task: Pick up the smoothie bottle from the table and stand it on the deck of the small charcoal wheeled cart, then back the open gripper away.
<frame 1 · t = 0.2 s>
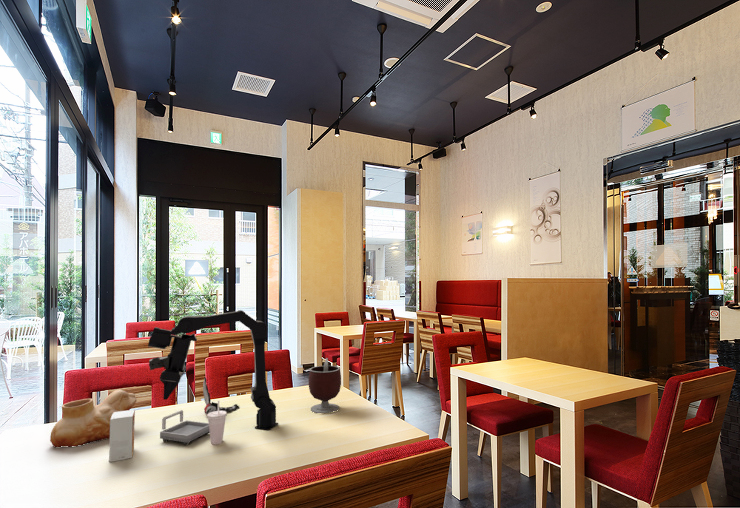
hand: (167, 396, 143), 15 cm above the table, tool pointing down, fingers open, 9 cm apart
smoothie: (216, 442, 140), on the table
cart: (186, 437, 145), on the table
ceramic vessel: (95, 437, 147), on the table
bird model: (220, 412, 173), on the table
mate gourd: (325, 409, 175), on the table
small box: (122, 456, 131), on the table
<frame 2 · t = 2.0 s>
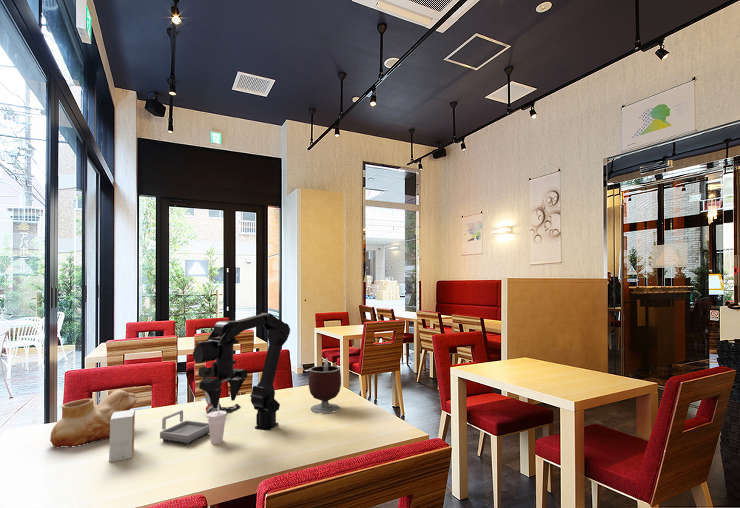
hand: (224, 404, 140), 13 cm above the table, tool pointing down, fingers open, 9 cm apart
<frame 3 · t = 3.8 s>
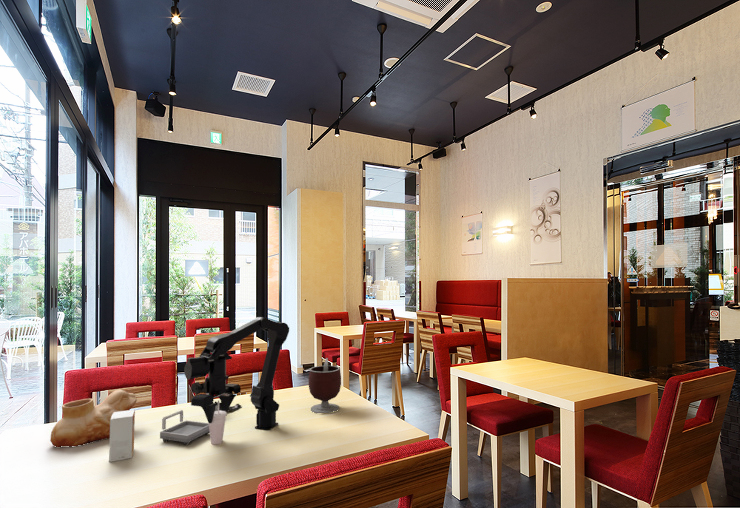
hand: (216, 419, 141), 8 cm above the table, tool pointing down, fingers closed on smoothie, 6 cm apart
smoothie: (216, 442, 140), on the table, touching gripper
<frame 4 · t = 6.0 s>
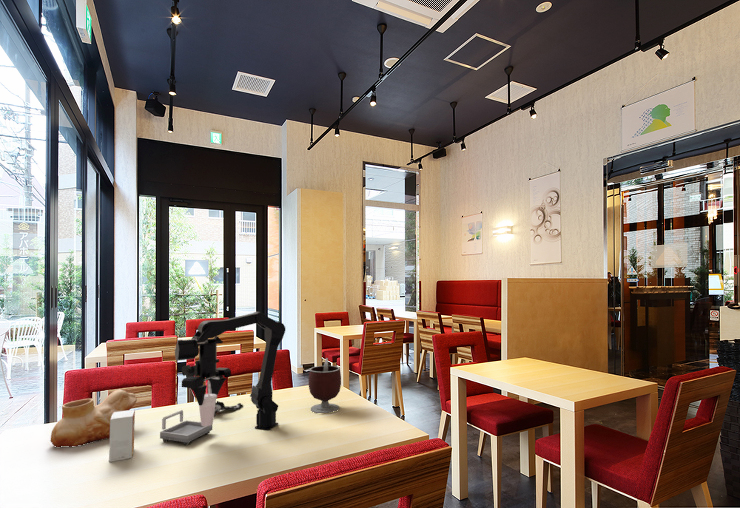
hand: (207, 402, 142), 13 cm above the table, tool pointing down, fingers closed on smoothie, 6 cm apart
smoothie: (207, 425, 142), point 5 cm above the table, touching gripper
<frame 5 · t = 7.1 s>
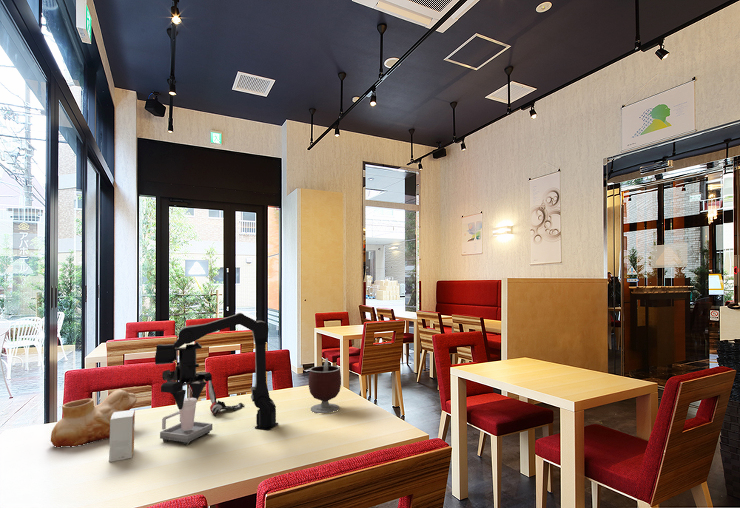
hand: (187, 406, 145), 11 cm above the table, tool pointing down, fingers closed on smoothie, 6 cm apart
smoothie: (187, 428, 145), point 3 cm above the table, touching gripper
when the fingers open (11 cm above the table, at t = 8.0 s): smoothie stays where it is, resting on cart.
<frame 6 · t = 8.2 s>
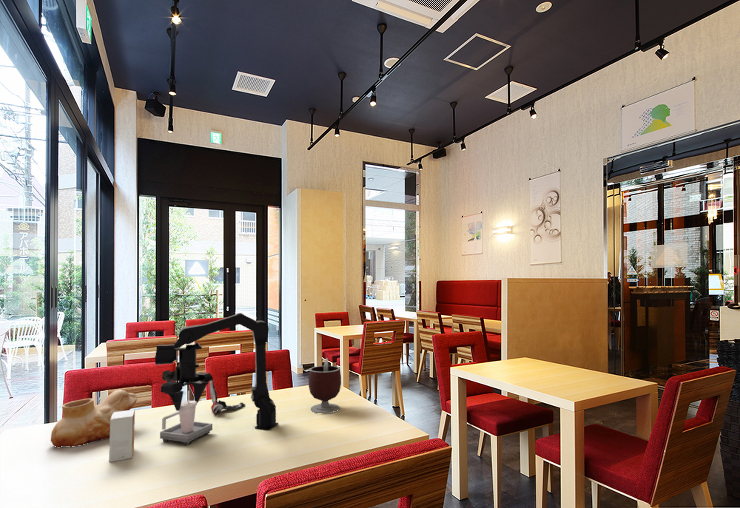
hand: (187, 406, 145), 11 cm above the table, tool pointing down, fingers open, 8 cm apart
smoothie: (187, 431, 145), point 2 cm above the table, touching cart
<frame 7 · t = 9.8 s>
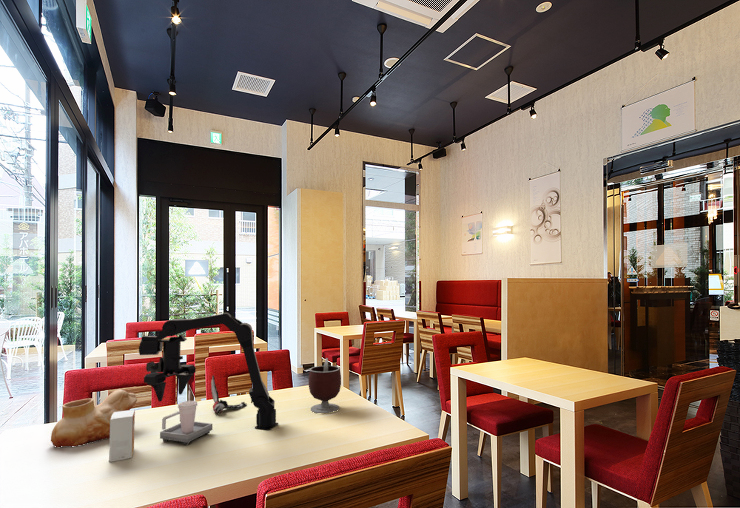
hand: (170, 397, 148), 13 cm above the table, tool pointing down, fingers open, 9 cm apart
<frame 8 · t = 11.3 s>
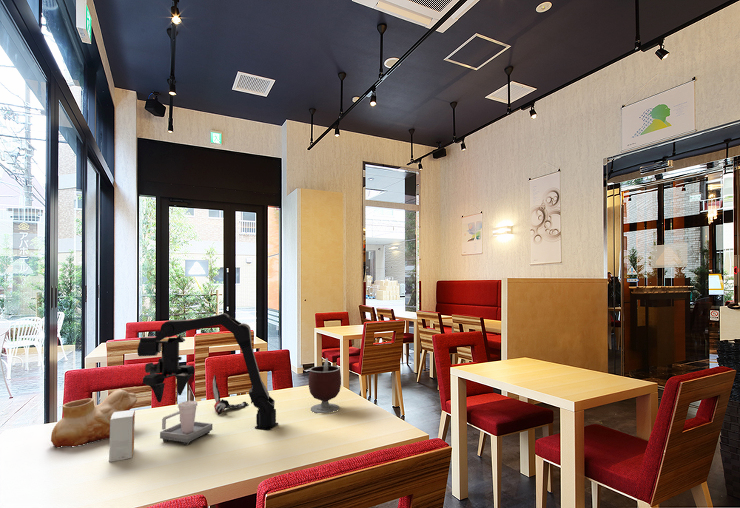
hand: (169, 398, 148), 13 cm above the table, tool pointing down, fingers open, 9 cm apart
at the end: smoothie 0.2 cm off-centre on the cart, point 2.1 cm above the cart's base; smoothie tilted 0°; the gripper is holding nothing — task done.
